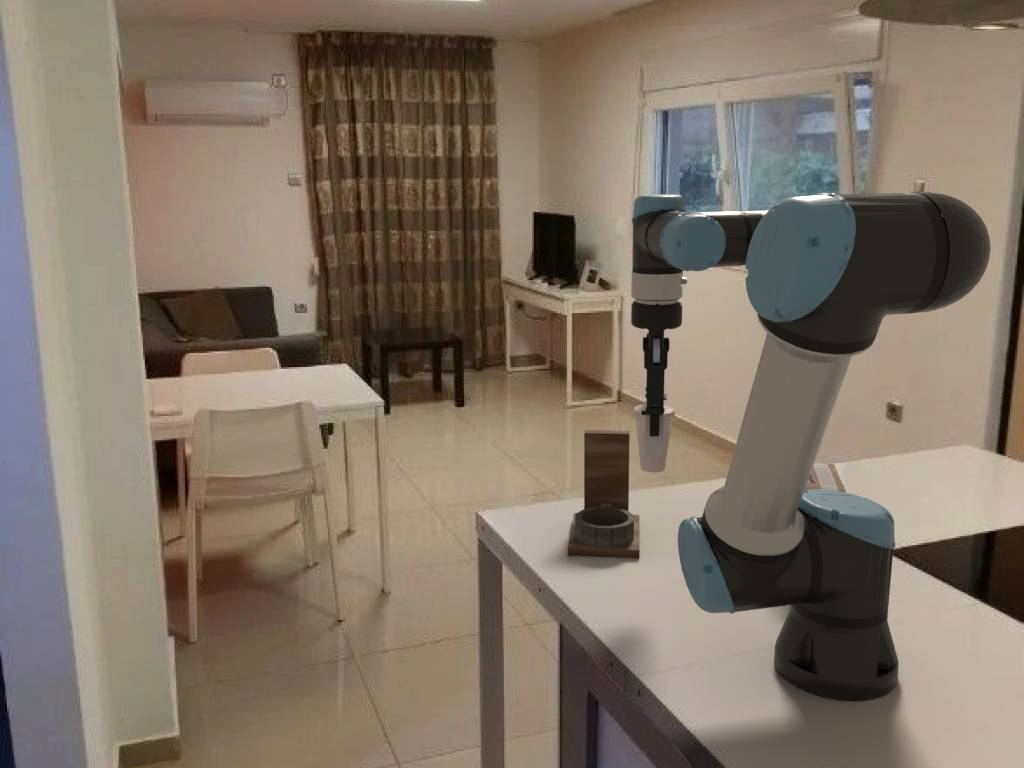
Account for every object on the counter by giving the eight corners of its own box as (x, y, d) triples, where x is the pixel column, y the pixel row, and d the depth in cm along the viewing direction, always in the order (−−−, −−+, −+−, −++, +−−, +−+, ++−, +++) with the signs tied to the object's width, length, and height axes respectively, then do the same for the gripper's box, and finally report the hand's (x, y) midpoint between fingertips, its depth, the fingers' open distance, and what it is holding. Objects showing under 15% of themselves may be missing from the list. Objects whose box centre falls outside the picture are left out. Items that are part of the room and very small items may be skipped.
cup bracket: (639, 558, 155) (641, 458, 151) (567, 555, 156) (567, 456, 152) (639, 522, 170) (640, 431, 166) (574, 520, 172) (573, 429, 168)
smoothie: (626, 471, 143) (627, 383, 139) (640, 459, 148) (642, 374, 145) (665, 477, 140) (668, 388, 136) (679, 465, 145) (681, 378, 142)
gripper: (685, 311, 128) (680, 469, 133) (680, 291, 146) (675, 430, 152) (630, 310, 129) (627, 467, 135) (632, 290, 147) (629, 429, 153)
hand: (653, 447), depth 143 cm, fingers closed on smoothie, 6 cm apart
